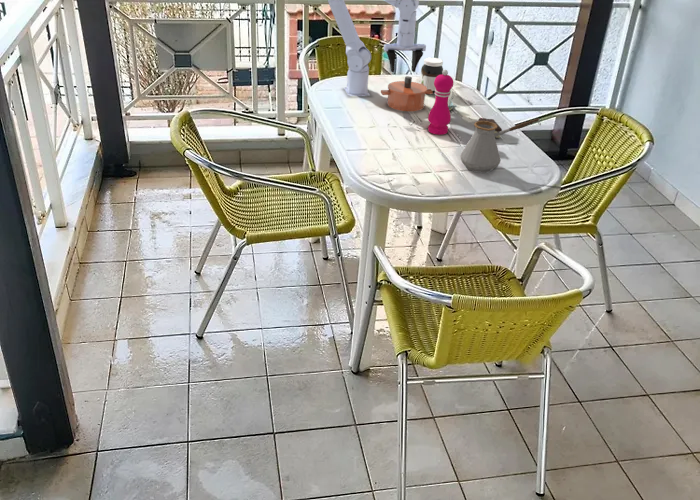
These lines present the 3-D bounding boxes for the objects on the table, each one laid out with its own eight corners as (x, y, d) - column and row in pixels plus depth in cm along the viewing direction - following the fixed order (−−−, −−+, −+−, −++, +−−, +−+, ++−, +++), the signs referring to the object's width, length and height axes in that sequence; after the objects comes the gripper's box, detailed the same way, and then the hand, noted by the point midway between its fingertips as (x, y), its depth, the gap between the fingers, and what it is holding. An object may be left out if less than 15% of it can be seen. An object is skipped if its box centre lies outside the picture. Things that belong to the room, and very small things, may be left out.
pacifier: (442, 112, 234) (458, 111, 235) (443, 95, 230) (459, 94, 232) (434, 105, 240) (450, 104, 241) (435, 88, 236) (451, 87, 238)
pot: (376, 101, 240) (377, 83, 237) (424, 100, 244) (426, 82, 241) (385, 113, 230) (386, 95, 227) (435, 112, 234) (437, 94, 230)
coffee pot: (463, 175, 189) (471, 124, 182) (455, 158, 199) (461, 110, 191) (537, 176, 191) (548, 125, 184) (525, 159, 201) (534, 111, 194)
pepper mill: (448, 136, 214) (456, 74, 204) (425, 133, 215) (432, 71, 205) (449, 128, 220) (457, 67, 210) (427, 126, 221) (434, 65, 211)
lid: (383, 84, 238) (384, 71, 236) (420, 84, 241) (421, 71, 239) (393, 97, 227) (394, 83, 225) (431, 96, 230) (433, 83, 227)
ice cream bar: (505, 139, 215) (491, 122, 227) (506, 134, 214) (492, 118, 226) (490, 139, 214) (476, 122, 227) (490, 134, 213) (477, 117, 226)
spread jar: (416, 87, 257) (419, 56, 251) (445, 86, 259) (449, 56, 253) (425, 97, 247) (428, 65, 241) (454, 97, 249) (459, 65, 243)
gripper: (388, 34, 226) (385, 74, 233) (430, 34, 229) (425, 74, 236) (383, 29, 231) (380, 68, 239) (423, 29, 234) (419, 68, 241)
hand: (402, 71), depth 237 cm, fingers open, 7 cm apart
